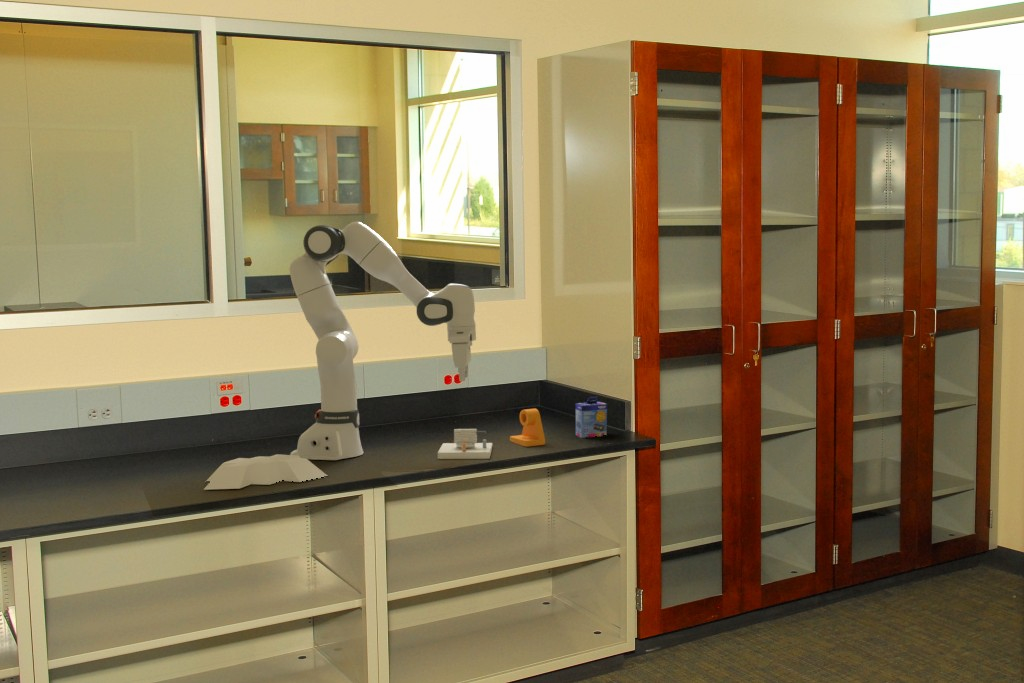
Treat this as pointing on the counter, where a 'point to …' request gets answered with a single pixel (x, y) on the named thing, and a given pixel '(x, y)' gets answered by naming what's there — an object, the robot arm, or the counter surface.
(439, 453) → the dial plate
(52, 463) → the counter surface
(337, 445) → the robot arm
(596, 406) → the ink cartridge box
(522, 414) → the bracket
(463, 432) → the knob
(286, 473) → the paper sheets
